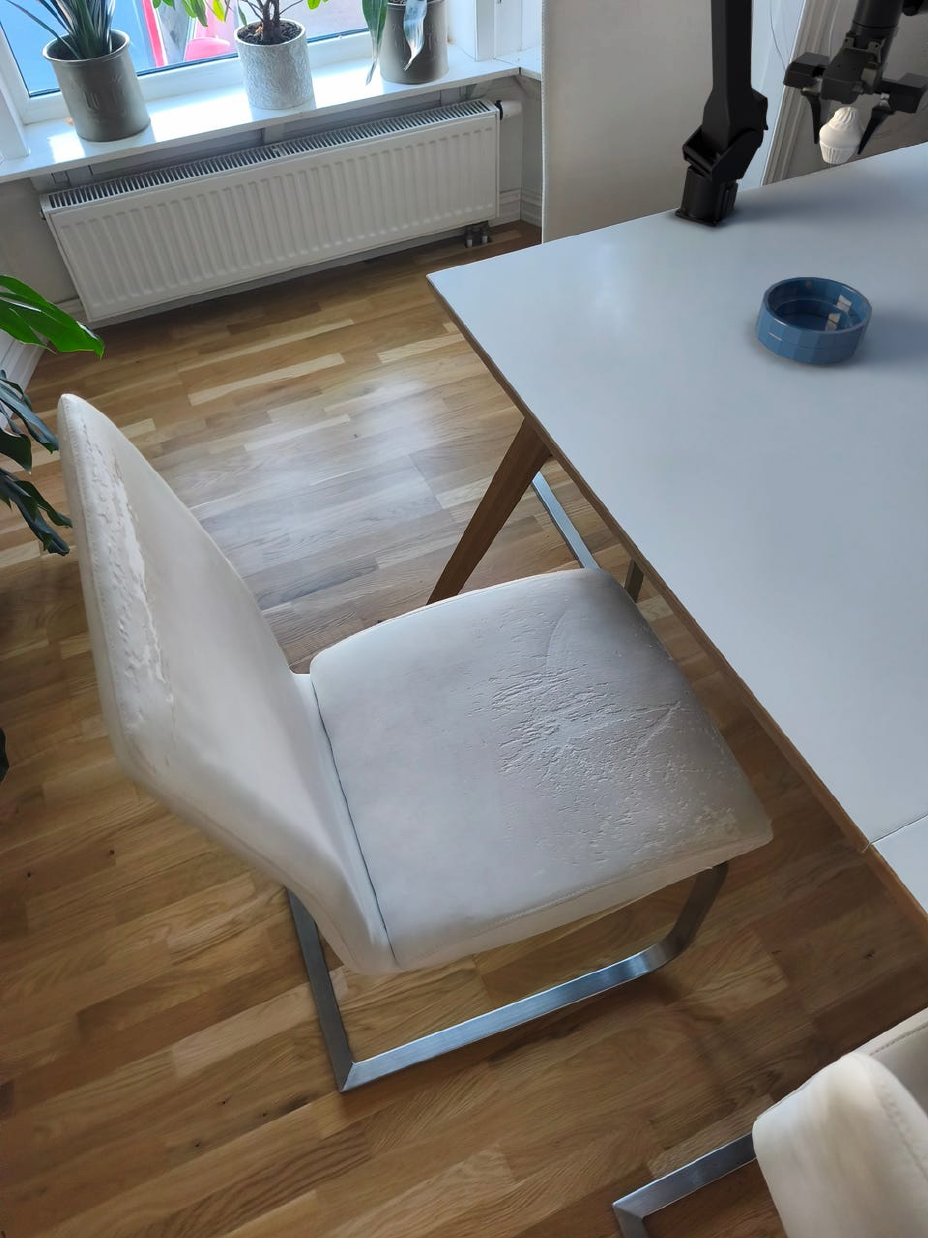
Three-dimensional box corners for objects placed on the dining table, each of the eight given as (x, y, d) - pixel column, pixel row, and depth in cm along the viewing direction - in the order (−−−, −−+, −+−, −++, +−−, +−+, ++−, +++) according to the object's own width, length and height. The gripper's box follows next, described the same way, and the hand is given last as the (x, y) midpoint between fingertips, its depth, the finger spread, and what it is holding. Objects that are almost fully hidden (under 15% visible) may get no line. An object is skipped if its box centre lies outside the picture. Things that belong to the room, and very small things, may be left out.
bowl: (736, 344, 102) (744, 310, 99) (781, 300, 108) (790, 266, 105) (833, 380, 97) (846, 345, 94) (875, 331, 103) (888, 297, 100)
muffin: (813, 148, 126) (827, 96, 120) (856, 152, 125) (873, 99, 119) (812, 166, 122) (826, 113, 117) (857, 170, 121) (873, 117, 116)
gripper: (780, 25, 110) (752, 152, 122) (925, 53, 102) (880, 186, 115) (816, 1, 115) (786, 126, 127) (956, 27, 108) (910, 156, 120)
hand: (837, 148), depth 122 cm, fingers closed on muffin, 6 cm apart
